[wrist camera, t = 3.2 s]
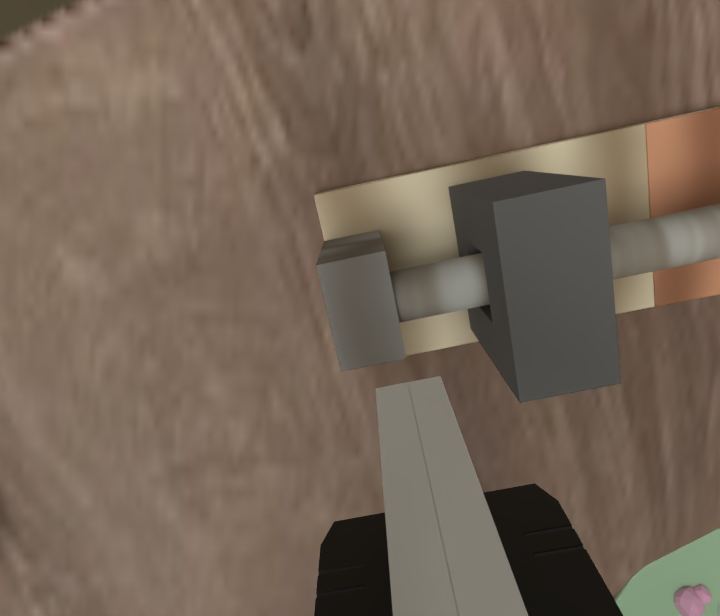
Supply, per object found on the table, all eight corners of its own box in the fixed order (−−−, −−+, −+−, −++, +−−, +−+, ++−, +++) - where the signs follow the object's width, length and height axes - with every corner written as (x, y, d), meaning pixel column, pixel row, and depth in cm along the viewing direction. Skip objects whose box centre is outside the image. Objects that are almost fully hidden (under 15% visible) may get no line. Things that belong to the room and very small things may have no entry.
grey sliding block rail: (353, 356, 32) (352, 420, 24) (315, 193, 29) (302, 207, 22) (856, 256, 31) (1022, 290, 23) (866, 74, 28) (1060, 44, 20)
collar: (470, 328, 30) (519, 402, 21) (448, 186, 28) (492, 202, 19) (541, 314, 30) (620, 383, 21) (524, 170, 27) (605, 178, 19)
